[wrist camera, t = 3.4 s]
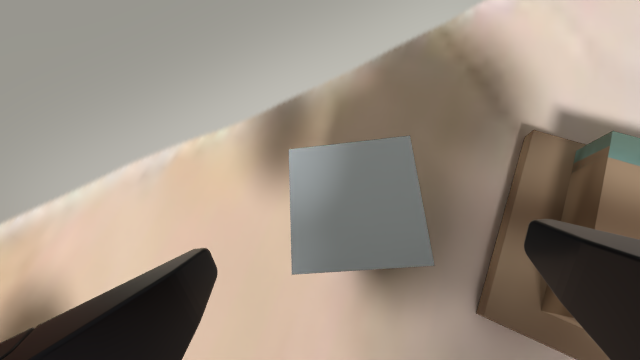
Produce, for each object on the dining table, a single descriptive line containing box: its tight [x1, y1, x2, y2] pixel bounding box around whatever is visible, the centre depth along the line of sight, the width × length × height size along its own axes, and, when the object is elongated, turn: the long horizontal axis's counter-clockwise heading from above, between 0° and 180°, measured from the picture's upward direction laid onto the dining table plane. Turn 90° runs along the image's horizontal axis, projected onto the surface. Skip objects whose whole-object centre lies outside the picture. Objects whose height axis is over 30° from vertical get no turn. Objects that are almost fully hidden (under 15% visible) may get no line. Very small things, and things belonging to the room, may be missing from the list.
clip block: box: [289, 136, 434, 275], centre depth 13 cm, size 4×4×9 cm
